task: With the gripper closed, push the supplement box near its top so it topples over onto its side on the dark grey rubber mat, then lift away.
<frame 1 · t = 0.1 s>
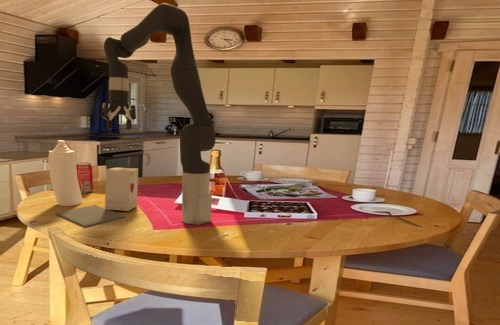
hand: (119, 129, 133), 29 cm above the table, fingers open, 8 cm apart
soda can: (84, 192, 145), on the table
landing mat: (90, 215, 111), on the table
supplement box: (121, 208, 121), on the table, touching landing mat
white bottle: (67, 204, 124), on the table
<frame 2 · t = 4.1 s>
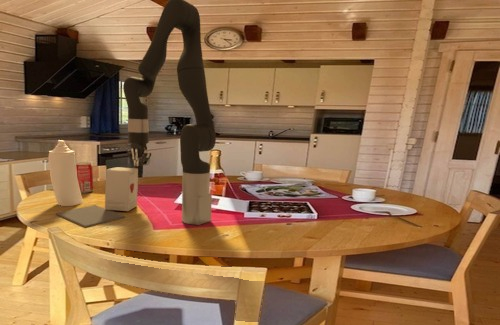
hand: (138, 175, 126), 12 cm above the table, fingers closed
supplement box: (121, 208, 121), on the table, touching gripper, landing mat
everything else where it was.
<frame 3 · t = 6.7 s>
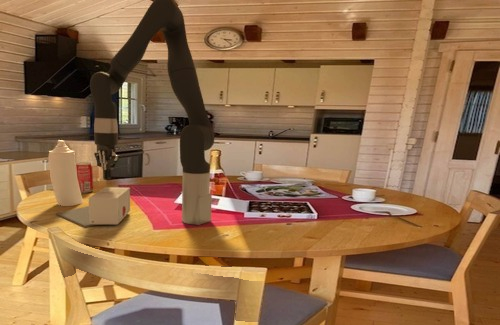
hand: (107, 179, 115), 12 cm above the table, fingers closed
supplement box: (118, 199, 115), point 5 cm above the table, touching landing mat
everything else where it was.
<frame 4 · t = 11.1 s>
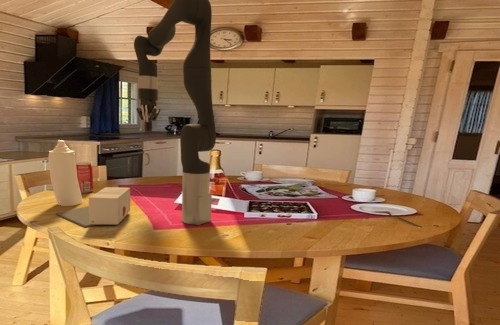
hand: (148, 131, 131), 29 cm above the table, fingers closed
nothing on the table moved.
at the end: supplement box tilted 91°; supplement box inside the target area (7.3 cm from its centre), point 5.2 cm above the table; supplement box touching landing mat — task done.
